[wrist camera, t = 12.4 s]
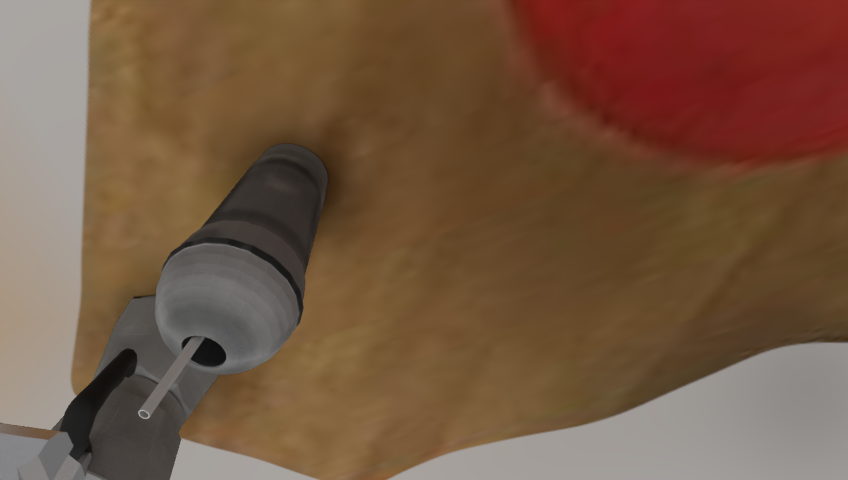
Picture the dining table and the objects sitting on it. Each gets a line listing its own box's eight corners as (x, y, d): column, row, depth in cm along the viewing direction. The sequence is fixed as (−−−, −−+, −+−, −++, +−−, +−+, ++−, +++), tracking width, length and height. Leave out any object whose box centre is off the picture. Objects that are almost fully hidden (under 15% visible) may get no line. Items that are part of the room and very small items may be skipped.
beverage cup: (279, 236, 48) (155, 499, 32) (213, 150, 45) (37, 397, 29) (371, 199, 45) (285, 467, 30) (307, 104, 42) (171, 351, 26)
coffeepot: (230, 404, 60) (135, 625, 45) (118, 376, 59) (-13, 591, 45) (244, 268, 50) (130, 493, 36) (112, 234, 50) (-57, 448, 36)
